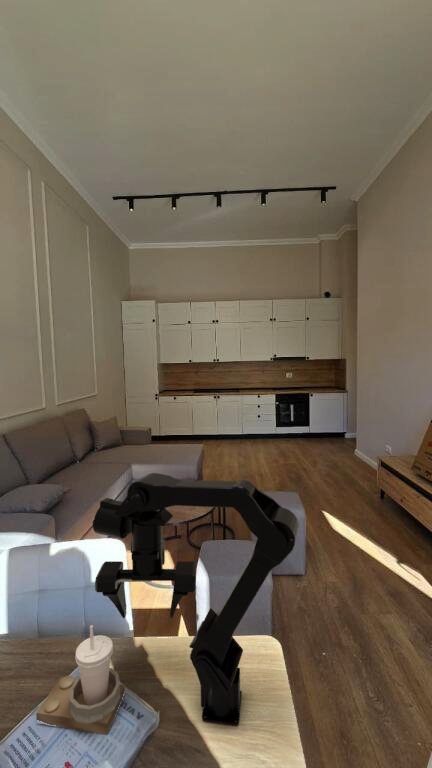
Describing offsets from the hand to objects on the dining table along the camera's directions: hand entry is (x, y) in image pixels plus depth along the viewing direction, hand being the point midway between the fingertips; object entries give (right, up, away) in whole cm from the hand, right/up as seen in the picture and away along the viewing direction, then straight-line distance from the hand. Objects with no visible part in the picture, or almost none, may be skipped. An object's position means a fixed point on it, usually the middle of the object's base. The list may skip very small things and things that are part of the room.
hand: (148, 616), depth 70 cm
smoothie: (-8, -11, -6) cm, 15 cm away
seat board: (-11, -13, -6) cm, 18 cm away
